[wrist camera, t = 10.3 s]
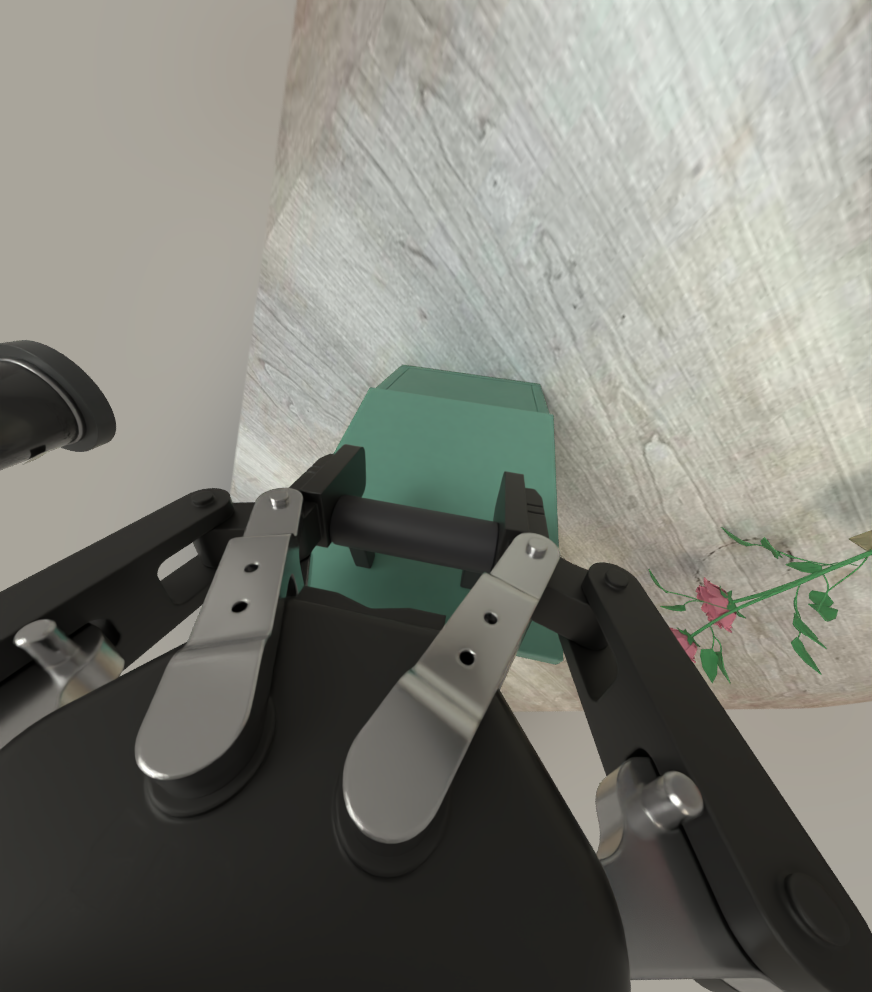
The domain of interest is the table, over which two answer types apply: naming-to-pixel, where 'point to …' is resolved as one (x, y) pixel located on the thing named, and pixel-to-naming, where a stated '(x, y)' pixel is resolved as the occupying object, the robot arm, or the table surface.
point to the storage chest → (467, 388)
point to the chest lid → (434, 503)
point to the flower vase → (725, 609)
